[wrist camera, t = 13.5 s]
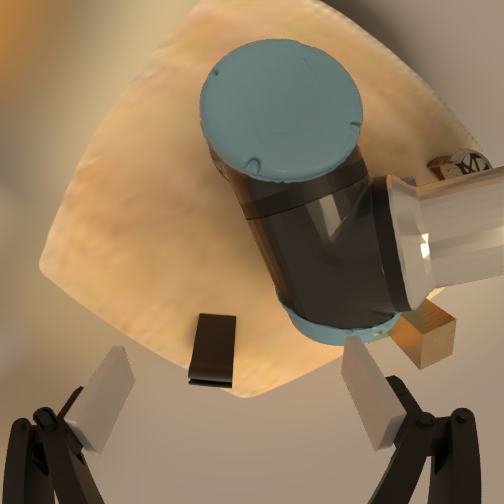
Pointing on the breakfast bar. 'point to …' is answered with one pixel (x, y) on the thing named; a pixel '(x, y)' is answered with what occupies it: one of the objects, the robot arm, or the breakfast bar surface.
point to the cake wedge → (459, 164)
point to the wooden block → (425, 334)
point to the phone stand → (213, 352)
